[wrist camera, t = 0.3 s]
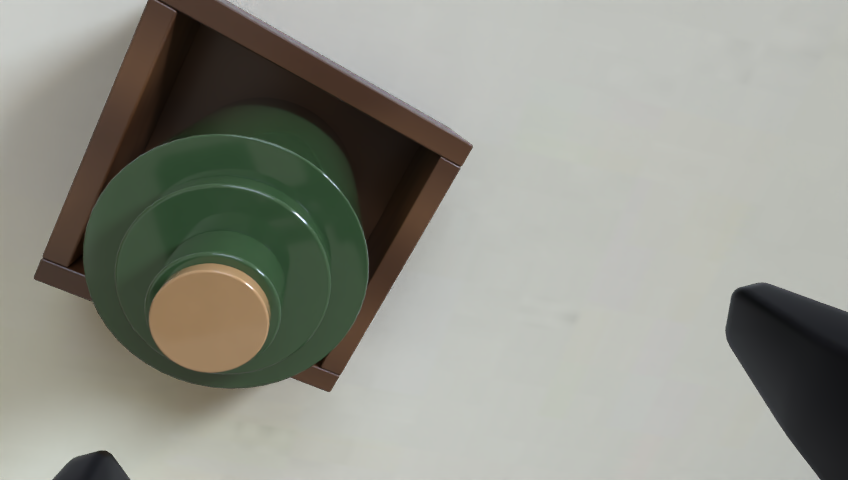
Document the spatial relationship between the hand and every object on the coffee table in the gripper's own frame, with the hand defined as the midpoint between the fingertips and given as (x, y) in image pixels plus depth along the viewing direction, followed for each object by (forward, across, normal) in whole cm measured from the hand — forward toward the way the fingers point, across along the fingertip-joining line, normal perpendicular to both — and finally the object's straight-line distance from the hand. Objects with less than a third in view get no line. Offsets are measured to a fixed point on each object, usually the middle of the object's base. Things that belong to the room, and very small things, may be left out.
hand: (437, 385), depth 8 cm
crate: (+15, +4, +3) cm, 15 cm away
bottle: (+14, +4, +3) cm, 15 cm away
